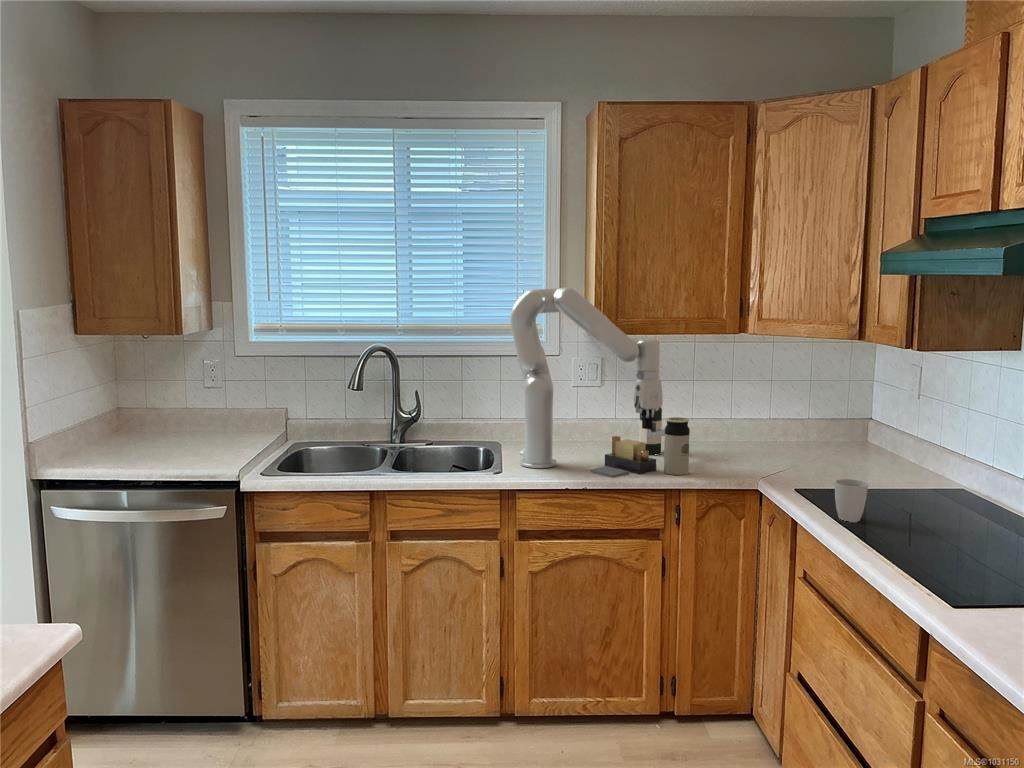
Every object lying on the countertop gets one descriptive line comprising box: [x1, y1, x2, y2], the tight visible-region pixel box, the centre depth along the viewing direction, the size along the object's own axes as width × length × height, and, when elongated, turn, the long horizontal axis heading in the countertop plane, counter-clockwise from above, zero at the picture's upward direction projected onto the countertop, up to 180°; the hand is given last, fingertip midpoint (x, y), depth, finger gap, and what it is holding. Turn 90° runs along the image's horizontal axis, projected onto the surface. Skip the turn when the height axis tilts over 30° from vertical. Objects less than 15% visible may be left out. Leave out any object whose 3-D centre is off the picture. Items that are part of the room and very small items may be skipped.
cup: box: [834, 478, 869, 523], centre depth 212 cm, size 8×8×10 cm
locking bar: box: [647, 422, 665, 438], centre depth 281 cm, size 2×16×5 cm, turn 130°
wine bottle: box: [638, 406, 663, 456], centre depth 294 cm, size 8×8×30 cm
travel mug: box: [663, 416, 691, 476], centre depth 264 cm, size 8×8×18 cm
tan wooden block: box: [615, 439, 645, 460], centre depth 270 cm, size 8×6×5 cm
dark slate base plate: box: [604, 435, 657, 475], centre depth 271 cm, size 16×8×10 cm, turn 39°
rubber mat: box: [589, 465, 630, 478], centre depth 265 cm, size 10×8×1 cm
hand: (647, 428), depth 275 cm, fingers closed
